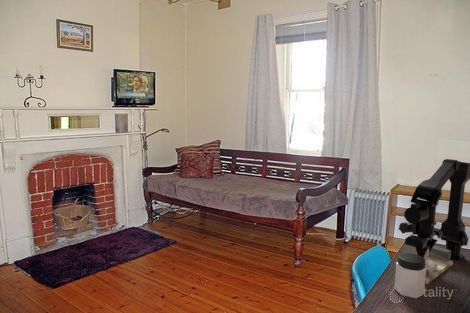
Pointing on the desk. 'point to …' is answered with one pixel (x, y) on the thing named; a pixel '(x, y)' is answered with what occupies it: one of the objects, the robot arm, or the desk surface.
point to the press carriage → (429, 264)
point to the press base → (438, 262)
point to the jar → (410, 275)
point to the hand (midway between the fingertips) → (422, 258)
